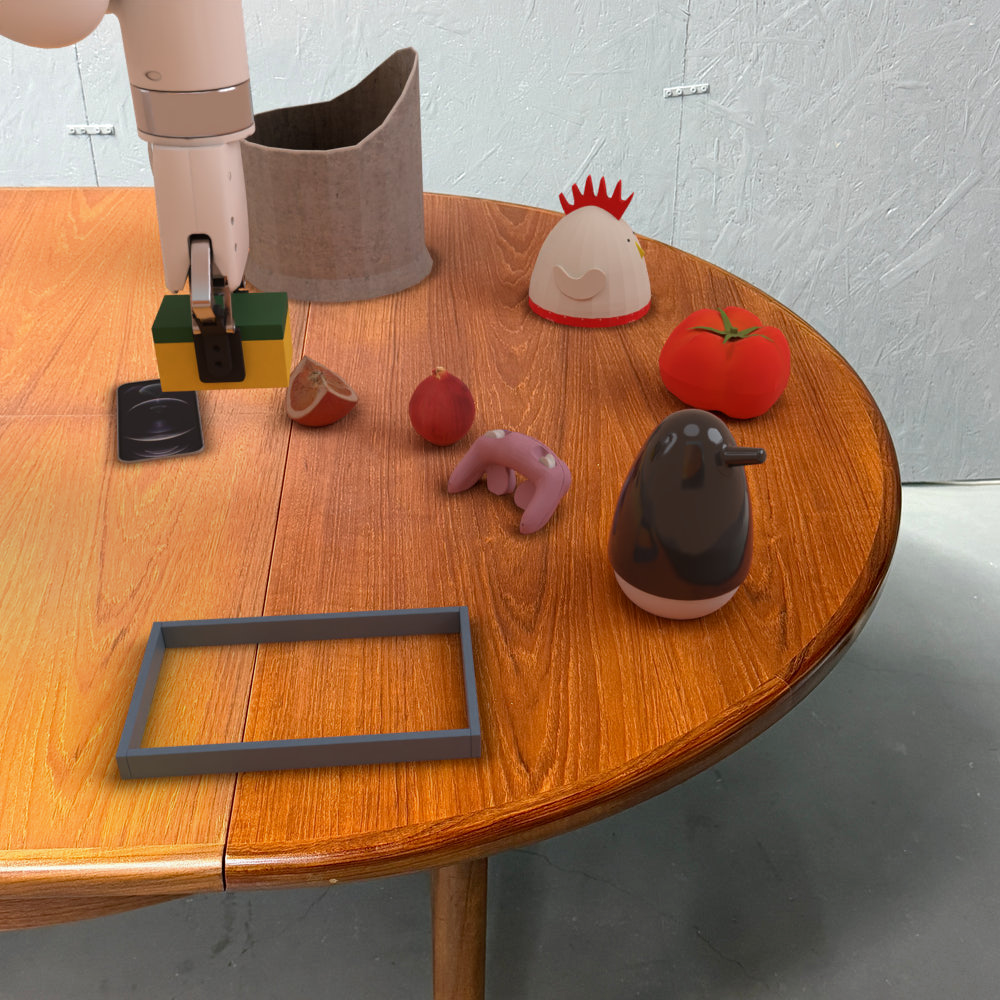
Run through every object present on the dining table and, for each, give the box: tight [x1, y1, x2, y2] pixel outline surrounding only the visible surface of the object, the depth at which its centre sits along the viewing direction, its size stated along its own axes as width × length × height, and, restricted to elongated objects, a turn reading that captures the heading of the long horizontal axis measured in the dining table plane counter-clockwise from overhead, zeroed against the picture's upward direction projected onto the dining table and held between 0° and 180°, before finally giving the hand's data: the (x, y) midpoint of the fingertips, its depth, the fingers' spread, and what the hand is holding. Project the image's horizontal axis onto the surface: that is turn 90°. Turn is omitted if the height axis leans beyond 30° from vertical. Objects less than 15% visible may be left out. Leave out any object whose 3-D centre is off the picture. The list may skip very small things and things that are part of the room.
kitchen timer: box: [528, 174, 652, 329], centre depth 119 cm, size 14×14×15 cm
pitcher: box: [147, 46, 434, 303], centre depth 124 cm, size 23×32×25 cm
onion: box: [408, 365, 477, 447], centre depth 95 cm, size 6×6×8 cm
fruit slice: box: [284, 354, 360, 428], centre depth 100 cm, size 8×7×5 cm
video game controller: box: [447, 428, 572, 535], centre depth 88 cm, size 10×5×7 cm, turn 45°
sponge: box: [150, 292, 294, 392], centre depth 79 cm, size 9×6×5 cm, turn 96°
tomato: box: [658, 305, 792, 420], centre depth 101 cm, size 13×12×8 cm
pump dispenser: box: [607, 408, 768, 620], centre depth 75 cm, size 10×10×15 cm
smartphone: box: [116, 378, 206, 465], centre depth 99 cm, size 8×1×15 cm
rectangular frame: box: [115, 605, 482, 781], centre depth 69 cm, size 21×12×2 cm, turn 95°
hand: (227, 358), depth 80 cm, fingers closed on sponge, 6 cm apart
